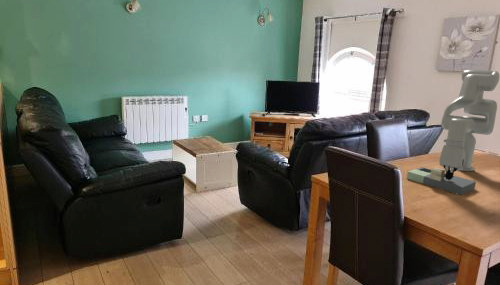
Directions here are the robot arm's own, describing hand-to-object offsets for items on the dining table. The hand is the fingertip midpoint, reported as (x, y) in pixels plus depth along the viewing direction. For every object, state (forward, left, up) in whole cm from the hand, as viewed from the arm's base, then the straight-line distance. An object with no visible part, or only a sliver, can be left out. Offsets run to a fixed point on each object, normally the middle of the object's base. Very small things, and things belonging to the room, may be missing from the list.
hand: (448, 179), depth 181 cm
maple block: (+2, -5, -1) cm, 5 cm away
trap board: (-4, -6, -5) cm, 8 cm away
